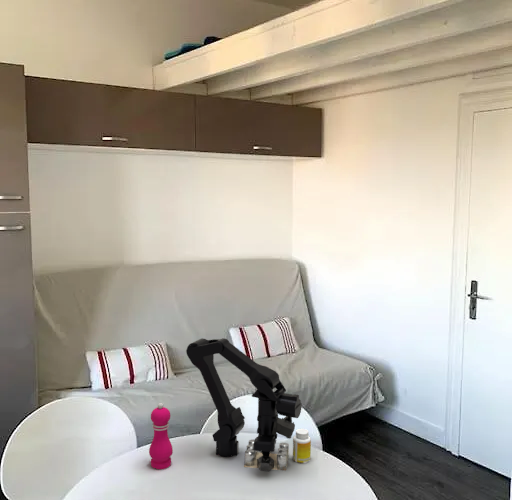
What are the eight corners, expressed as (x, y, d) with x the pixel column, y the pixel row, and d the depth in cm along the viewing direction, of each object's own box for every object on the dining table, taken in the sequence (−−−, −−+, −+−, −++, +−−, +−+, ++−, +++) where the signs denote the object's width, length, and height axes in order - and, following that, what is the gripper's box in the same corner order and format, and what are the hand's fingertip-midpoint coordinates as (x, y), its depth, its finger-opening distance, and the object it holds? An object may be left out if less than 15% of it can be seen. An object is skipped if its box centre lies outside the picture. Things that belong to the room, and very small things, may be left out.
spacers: (243, 466, 177) (243, 454, 177) (249, 450, 188) (249, 439, 187) (286, 470, 175) (286, 457, 175) (289, 454, 186) (289, 442, 185)
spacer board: (241, 476, 173) (241, 473, 173) (248, 454, 187) (248, 451, 187) (284, 480, 172) (284, 477, 171) (288, 457, 185) (288, 454, 185)
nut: (256, 470, 175) (256, 462, 175) (258, 463, 180) (258, 455, 179) (273, 471, 175) (273, 463, 174) (274, 464, 179) (274, 456, 179)
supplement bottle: (313, 462, 182) (314, 431, 181) (301, 468, 179) (302, 436, 178) (301, 456, 187) (302, 425, 185) (289, 461, 183) (289, 430, 182)
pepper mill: (144, 467, 178) (143, 405, 176) (157, 457, 185) (156, 397, 182) (165, 472, 175) (164, 409, 173) (177, 461, 182) (176, 400, 179)
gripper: (291, 426, 168) (290, 476, 170) (295, 401, 186) (294, 447, 188) (253, 424, 169) (252, 474, 171) (261, 399, 188) (260, 444, 190)
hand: (266, 459), depth 180 cm, fingers closed
